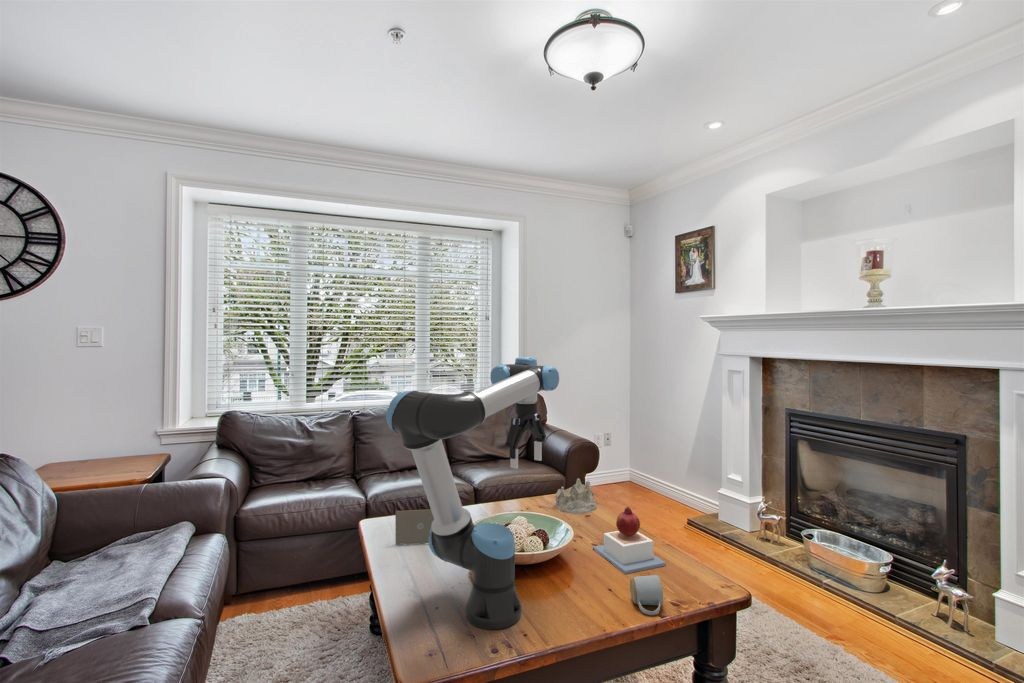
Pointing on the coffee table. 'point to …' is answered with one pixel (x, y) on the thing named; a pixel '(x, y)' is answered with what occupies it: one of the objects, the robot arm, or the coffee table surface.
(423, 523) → the laptop
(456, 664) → the coffee table surface
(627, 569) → the pedestal board
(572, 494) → the miniature stone castle
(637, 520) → the fruit
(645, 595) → the ceramic mug
